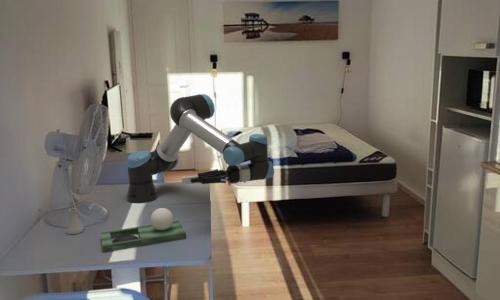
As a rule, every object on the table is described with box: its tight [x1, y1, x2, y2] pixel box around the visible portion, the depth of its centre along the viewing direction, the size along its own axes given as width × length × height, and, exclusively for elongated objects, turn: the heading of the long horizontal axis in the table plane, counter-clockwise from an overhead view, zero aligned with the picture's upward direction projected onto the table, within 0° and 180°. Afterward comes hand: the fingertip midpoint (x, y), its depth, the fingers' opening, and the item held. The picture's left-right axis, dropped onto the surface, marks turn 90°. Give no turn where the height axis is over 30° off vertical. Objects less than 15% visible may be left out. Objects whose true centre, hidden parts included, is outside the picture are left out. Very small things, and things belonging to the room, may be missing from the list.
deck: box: [100, 220, 187, 253], centre depth 192 cm, size 14×32×2 cm, turn 109°
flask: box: [65, 207, 85, 235], centre depth 201 cm, size 7×7×10 cm
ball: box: [150, 207, 174, 230], centre depth 194 cm, size 9×9×9 cm
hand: (182, 180), depth 193 cm, fingers closed
